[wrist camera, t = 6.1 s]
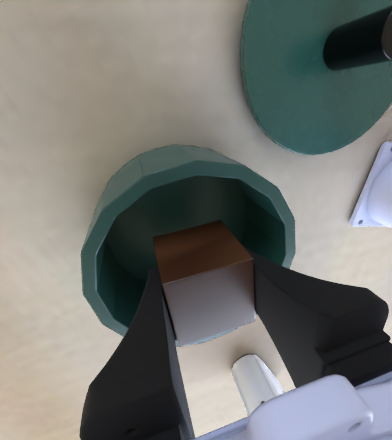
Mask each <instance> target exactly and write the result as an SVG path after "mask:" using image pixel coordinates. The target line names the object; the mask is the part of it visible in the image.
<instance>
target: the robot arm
mask: <svg viewBox="0 0 392 440" xmlns="http://www.w3.org/2000/svg"><path fill="white" fill-rule="evenodd" d="M349 223H350V225H352V226H387V227H390V228H392V142H385V143H383V144H382V145H381V147H380V150H379V152H378V154H377V157H376V159H375V162H374V164H373V166H372V169H371V171H370V174H369V176H368V178H367V181H366V183H365V185H364V188H363V190H362V193H361V195H360V197H359V200H358V202H357V204H356V207H355V209H354V212H353V214H352V216H351V219H350V222H349ZM242 246H243V245H242ZM243 247H244V246H243ZM244 248H245V249H246V251H247V252H248V253H249V254H250V255H251V257H252V258H253V267H254V300H255V311H256V313H257V314H258V316H259V317H260V319H261V320H262V322H263V324H264V325H265V327H266V329H267V331H268V333H269V335H270V336H271V338H272V340H273V342H274V344H275V346H276V348H277V350H278V352H279V354H280V356H281V358H282V360H283V362H284V364H285V366H286V368H287V370H288V372H289V374H290V376H291V378H292V380H293V382H294V385H295V387H296V389H293V390H291V391H288V392H286V393H284V394H281V395H279V396H276V397H274V398H271V399H269V400H268V401H266V402H264V403H262V404H260V405H259V406H258V407H257V408H256V409H255V410H254V411H253V412H252V413H251V414H250V416H248V417H246V418H243V419H241V420H238V421H236V422H233V423H231V424H229V425H226V426H224V427H221V428H219V429H217V430H214V431H212V432H209V433H207V434H205V435H202V436H200V437H197V438H195V436H194V431H193V426H192V422H191V417H190V413H189V408H188V404H187V399H186V394H185V390H184V385H183V380H182V376H181V371H180V366H179V361H178V357H177V351H176V344H175V335H174V327H173V324H172V320H171V316H170V313H169V309H168V306H167V302H166V299H165V295H164V291H163V288H162V284H161V278H160V273H159V268H158V267H155V268H152V269H149V271H148V277H147V282H146V286H145V289H144V293H143V296H142V299H141V301H140V304H139V307H138V309H137V312H136V314H135V316H134V319H133V321H132V323H131V325H130V327H129V329H128V330H127V332H126V334H125V336H124V338H123V339H122V341H121V343H120V344H119V346H118V347H117V349H116V350H115V352H114V353H113V355H112V356H111V358H110V359H109V361H108V362H107V364H106V365H105V366H104V368H103V369H102V370H101V371H100V373H99V374H98V375H97V377H96V378H95V379H94V380H93V382H92V383H91V384H90V386H89V389H88V392H87V396H86V400H85V403H84V407H83V413H82V420H81V427H80V438H81V440H392V344H391V343H390V342H389V341H390V339H391V338H390V336H389V335H388V334H386V333H385V332H384V331H383V328H384V325H385V323H386V320H387V317H388V313H389V309H388V305H387V303H386V302H385V301H384V300H382V299H381V298H380V297H378V296H377V295H376V294H374V293H373V292H372V291H370V290H369V289H367V288H363V287H356V286H350V285H343V284H338V283H334V282H329V281H325V280H321V279H317V278H314V277H310V276H307V275H304V274H301V273H298V272H296V271H293V270H290V269H288V268H285V267H283V266H281V265H279V264H276V263H274V262H272V261H270V260H268V259H266V258H264V257H262V256H260V255H259V254H257V253H255V252H253V251H252V250H250V249H248V248H246V247H244Z"/></svg>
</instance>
